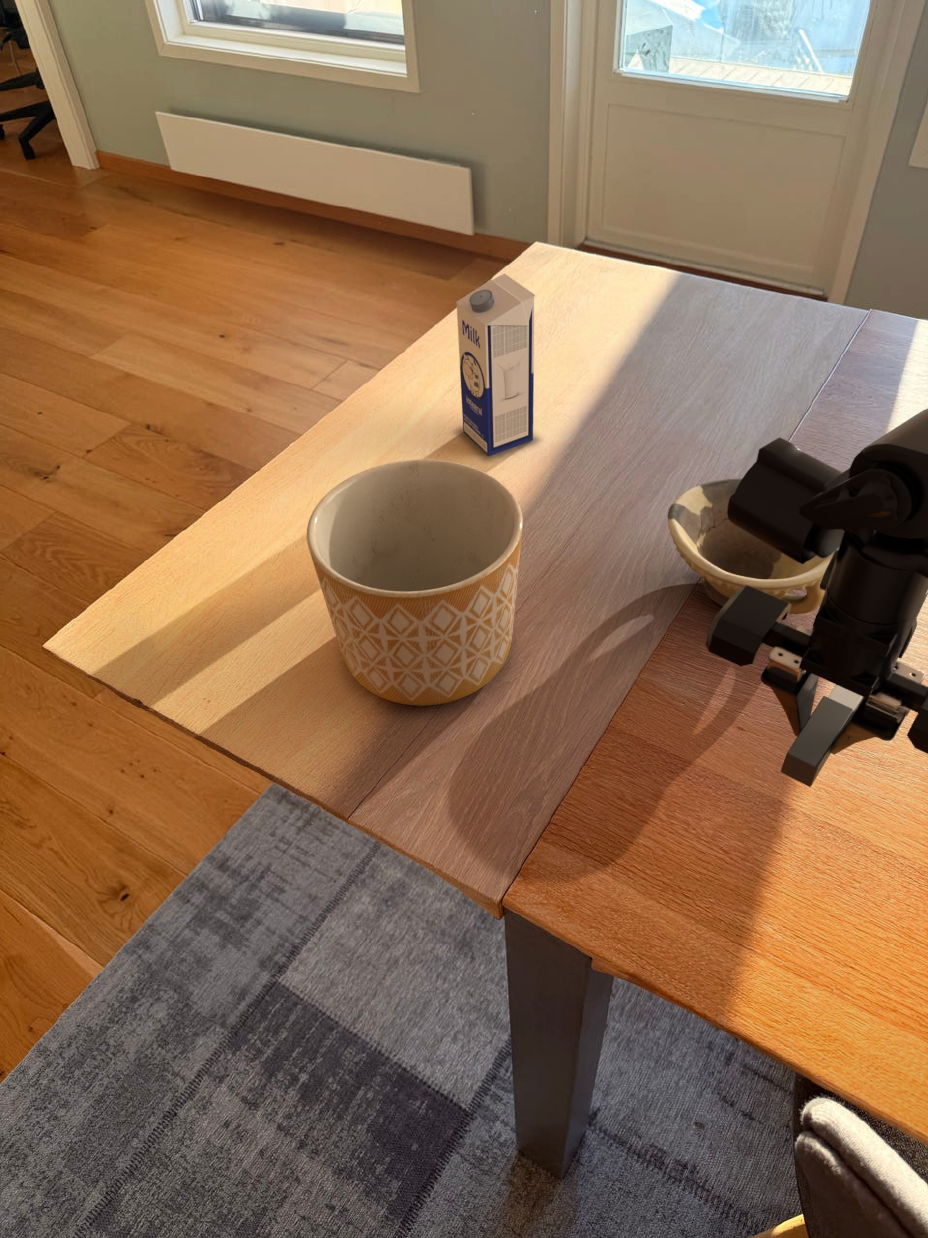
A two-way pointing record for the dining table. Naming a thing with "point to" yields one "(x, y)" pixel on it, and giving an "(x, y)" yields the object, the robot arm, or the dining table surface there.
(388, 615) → the planter
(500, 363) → the milk carton
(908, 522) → the robot arm
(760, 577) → the bowl
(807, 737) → the two-tone stick
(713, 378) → the dining table surface
